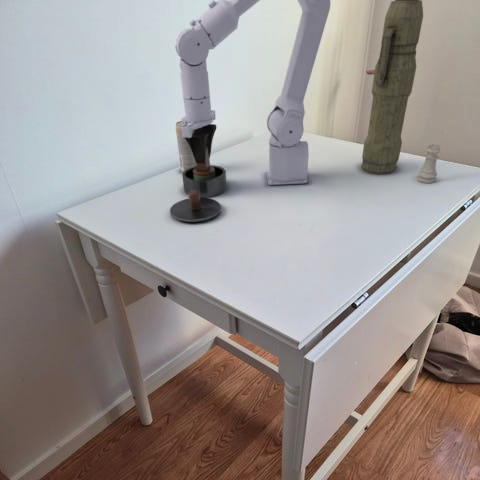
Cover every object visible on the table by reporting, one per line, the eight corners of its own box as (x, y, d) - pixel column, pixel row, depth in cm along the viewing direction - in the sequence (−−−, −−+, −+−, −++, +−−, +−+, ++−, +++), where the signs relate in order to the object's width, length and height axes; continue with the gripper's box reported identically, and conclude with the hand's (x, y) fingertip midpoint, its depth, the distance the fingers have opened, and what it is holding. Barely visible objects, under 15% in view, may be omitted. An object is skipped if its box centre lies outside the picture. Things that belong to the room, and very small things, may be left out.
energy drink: (202, 166, 115) (198, 119, 108) (199, 174, 111) (194, 125, 104) (183, 166, 116) (177, 120, 108) (179, 174, 112) (173, 126, 104)
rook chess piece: (415, 182, 101) (423, 148, 96) (416, 175, 104) (424, 142, 99) (435, 184, 100) (444, 149, 95) (436, 177, 103) (445, 143, 98)
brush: (199, 176, 105) (195, 143, 100) (218, 178, 104) (216, 144, 98) (190, 184, 101) (186, 150, 96) (210, 186, 100) (207, 151, 95)
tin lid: (221, 200, 98) (220, 181, 95) (220, 223, 89) (219, 202, 86) (173, 203, 98) (170, 183, 95) (167, 225, 89) (164, 204, 86)
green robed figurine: (405, 164, 110) (439, -4, 88) (384, 179, 103) (416, 0, 81) (373, 158, 115) (399, -4, 92) (351, 171, 108) (373, 0, 86)
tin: (226, 179, 108) (225, 164, 105) (226, 196, 100) (225, 180, 97) (186, 181, 108) (184, 166, 105) (182, 198, 100) (180, 182, 97)
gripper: (193, 88, 97) (199, 149, 106) (164, 104, 86) (174, 170, 95) (221, 89, 95) (225, 151, 104) (196, 105, 85) (202, 172, 93)
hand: (203, 160), depth 99 cm, fingers closed on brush, 2 cm apart
